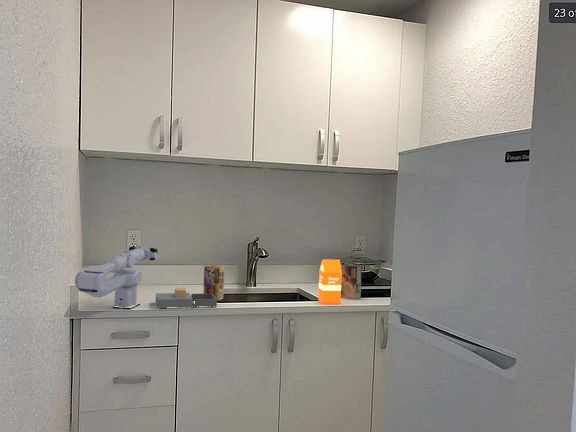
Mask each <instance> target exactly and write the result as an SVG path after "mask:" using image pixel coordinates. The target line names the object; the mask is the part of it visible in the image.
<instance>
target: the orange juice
mask: <svg viewBox="0 0 576 432" xmlns="http://www.w3.org/2000/svg"><path fill="white" fill-rule="evenodd" d="M318 273H319V276H318V293H317V294H318V296H317V297H318V299H317V300H318V301H319V303H321V302H322V303H321V304H341V301H342V300H341V298H342V297H341V277H342V272H341V260H340V259H322V260H321V262H320V268H319V272H318Z"/></svg>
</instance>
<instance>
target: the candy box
mask: <svg viewBox="0 0 576 432" xmlns="http://www.w3.org/2000/svg"><path fill="white" fill-rule="evenodd" d="M203 268H204V270H203V293H212V294H213V295H214V296H215V297H216V299H217V301H220V300H223V299H224V286H225V284H224V283H225V266H219V265H211V264H210V265H209V264H208V265H204V266H203Z"/></svg>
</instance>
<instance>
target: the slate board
mask: <svg viewBox="0 0 576 432" xmlns="http://www.w3.org/2000/svg"><path fill="white" fill-rule="evenodd" d="M156 305H157V306H156ZM155 306H156V309H157V308H167V307H192V297H191V294H190V292H186V297H176V296H175V292H165V293H164V292H162V293H161V292H160V293H155ZM192 308H193V307H192Z"/></svg>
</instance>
